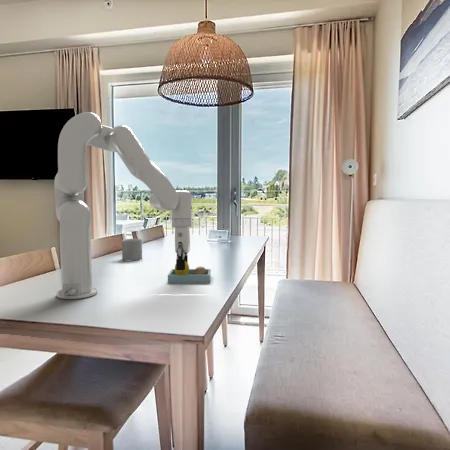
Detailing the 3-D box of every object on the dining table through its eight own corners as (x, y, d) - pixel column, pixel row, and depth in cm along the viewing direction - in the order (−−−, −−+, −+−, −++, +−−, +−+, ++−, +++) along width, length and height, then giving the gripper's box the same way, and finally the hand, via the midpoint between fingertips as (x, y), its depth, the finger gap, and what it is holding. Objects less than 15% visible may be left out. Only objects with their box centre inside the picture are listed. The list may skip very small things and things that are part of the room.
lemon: (182, 277, 146) (182, 257, 145) (192, 279, 142) (192, 258, 142) (171, 279, 141) (171, 259, 141) (181, 282, 138) (181, 260, 137)
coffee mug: (139, 260, 185) (138, 241, 184) (119, 260, 185) (119, 241, 185) (146, 256, 198) (145, 238, 197) (127, 256, 199) (127, 237, 198)
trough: (209, 284, 137) (209, 275, 136) (167, 284, 137) (167, 275, 136) (210, 277, 148) (210, 269, 148) (171, 277, 148) (171, 269, 147)
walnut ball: (206, 280, 140) (206, 267, 139) (193, 280, 140) (193, 267, 139) (207, 277, 145) (207, 265, 144) (194, 277, 145) (194, 265, 144)
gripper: (189, 225, 132) (189, 272, 133) (193, 221, 149) (193, 263, 150) (168, 225, 132) (169, 272, 133) (174, 221, 149) (175, 263, 150)
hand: (182, 267), depth 142 cm, fingers open, 9 cm apart
